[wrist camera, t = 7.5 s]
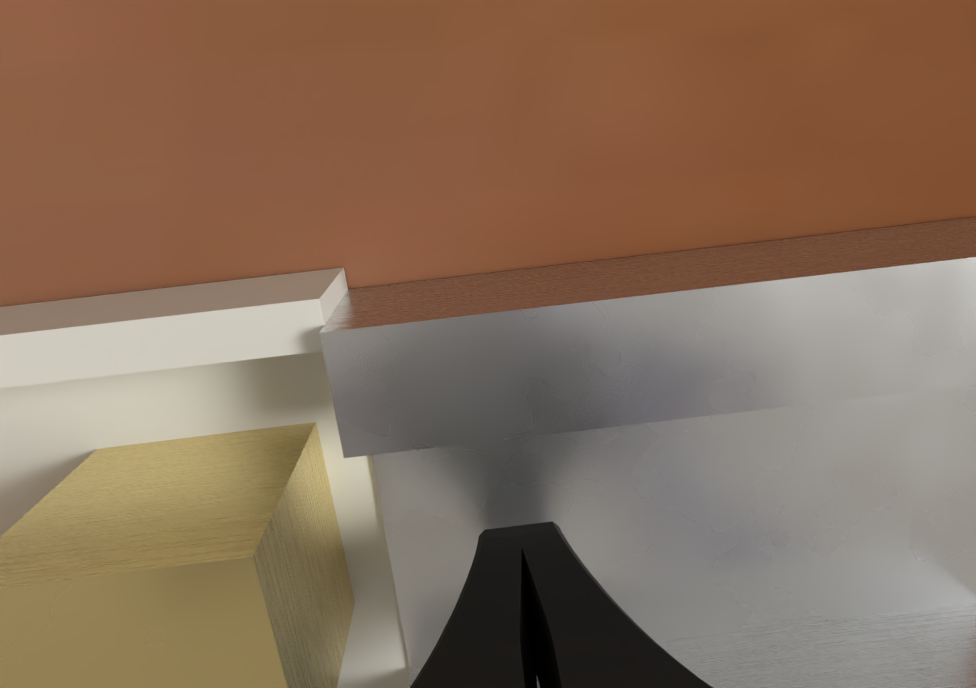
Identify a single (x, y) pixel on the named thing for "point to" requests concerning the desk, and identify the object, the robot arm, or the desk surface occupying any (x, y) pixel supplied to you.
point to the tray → (195, 409)
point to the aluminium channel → (694, 445)
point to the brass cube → (180, 569)
